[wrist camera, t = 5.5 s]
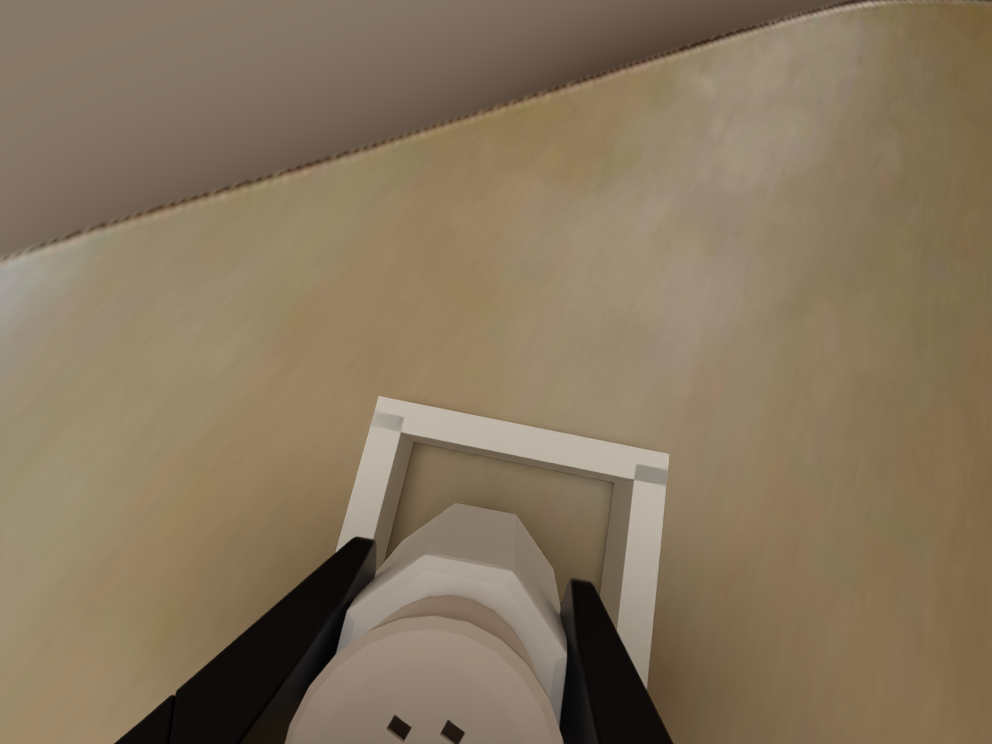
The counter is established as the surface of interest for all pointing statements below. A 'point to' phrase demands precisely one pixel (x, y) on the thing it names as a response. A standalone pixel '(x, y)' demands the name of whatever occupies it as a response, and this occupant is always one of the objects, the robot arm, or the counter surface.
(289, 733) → the pepper shaker
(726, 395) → the counter surface
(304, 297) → the counter surface
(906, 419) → the counter surface
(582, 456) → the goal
